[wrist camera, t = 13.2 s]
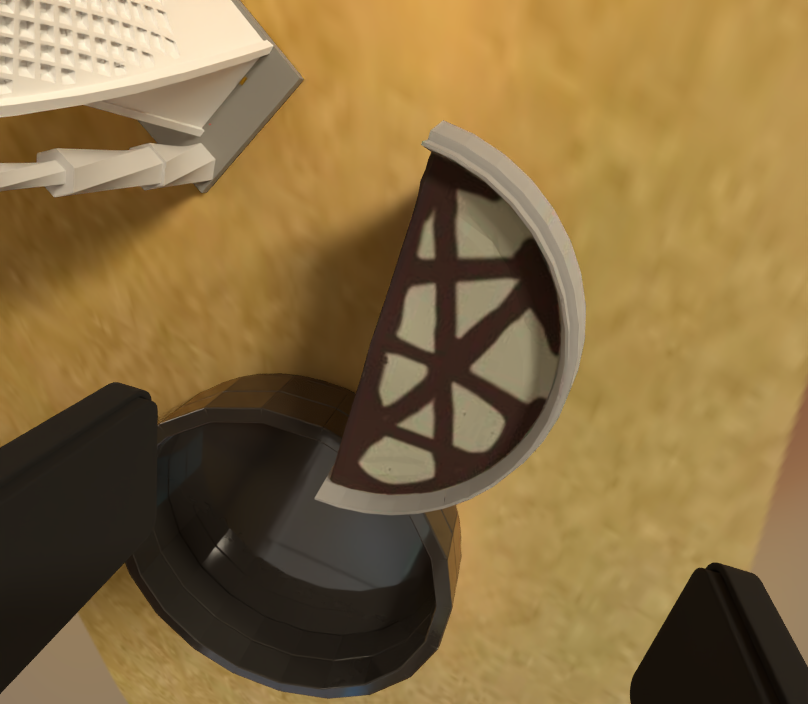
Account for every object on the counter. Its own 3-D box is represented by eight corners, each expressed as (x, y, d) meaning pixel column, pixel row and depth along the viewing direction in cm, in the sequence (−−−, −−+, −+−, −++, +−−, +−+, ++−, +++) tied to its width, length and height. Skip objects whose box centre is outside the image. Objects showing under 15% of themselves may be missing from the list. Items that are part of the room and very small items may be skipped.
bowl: (159, 580, 36) (117, 629, 32) (162, 332, 28) (107, 360, 25) (421, 675, 33) (407, 740, 30) (501, 433, 26) (495, 480, 22)
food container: (504, 429, 26) (487, 586, 17) (387, 383, 26) (310, 511, 17) (622, 178, 21) (691, 207, 12) (474, 127, 21) (428, 117, 12)
